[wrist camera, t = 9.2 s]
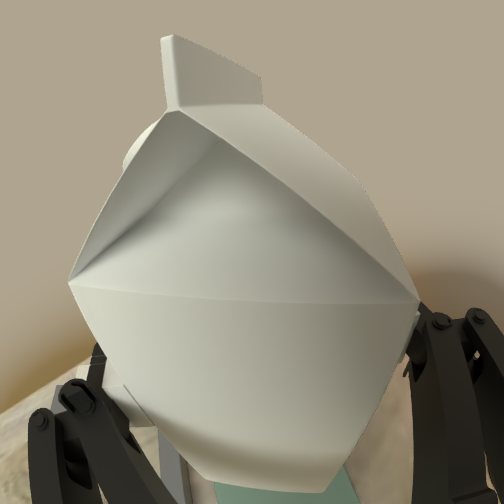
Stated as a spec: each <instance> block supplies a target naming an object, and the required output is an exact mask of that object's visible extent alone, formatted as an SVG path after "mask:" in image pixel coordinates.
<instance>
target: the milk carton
mask: <svg viewBox="0 0 504 504" xmlns="http://www.w3.org/2000/svg"><path fill="white" fill-rule="evenodd" d="M160 46H161V57H162V68H163V76H164V86H165V94H166V100H167V106H168V107H167V110H166V111H165V113H164V114H163V115H162V117H161V118H160V119H159V120H157V121H156V122H155V123H153V124H152V125H151V126H150V127H148V128H147V129H146V130H145V131H144V132H143V133H142V134H141V135H140V136H139V138H138V139H137V140H136V141H135V143H134V144H133V145H132V147H131V148H130V150H129V151H128V153H127V155H126V157H125V159H124V161H123V167H122V168H123V170H124V172H123V174H122V175H121V177H120V178H119V180H118V182H117V183H116V185H115V187H114V188H113V190H112V192H111V193H110V196H109V197H108V199H107V200H106V202H105V204H104V206H103V208H102V209H101V211H100V213H99V215H98V217H97V219H96V221H95V223H94V225H93V226H92V229H91V230H90V232H89V234H88V236H87V238H86V241H85V243H84V245H83V247H82V249H81V251H80V253H79V255H78V257H77V260H76V262H75V264H74V266H73V269H72V271H71V274H70V276H69V279H68V284H69V286H70V289H71V291H72V293H73V295H74V298H75V300H76V302H77V304H78V306H79V309H80V311H81V313H82V314H83V316H84V318H85V320H86V322H87V324H88V326H89V327H90V329H91V331H92V333H93V335H94V337H95V338H96V340H97V342H98V344H99V345H100V347H101V349H102V350H103V352H104V354H105V355H106V357H107V359H108V360H109V362H110V363H111V365H112V367H113V368H114V370H115V371H116V373H117V374H118V376H119V377H120V379H121V380H122V382H123V383H124V385H125V386H126V387H127V389H128V390H129V392H130V393H131V395H132V396H133V397H134V399H135V400H136V401H137V403H138V404H139V405H140V407H141V408H142V409H143V411H144V412H145V413H146V415H147V416H148V417H149V418H150V420H151V421H152V422H153V423H154V425H155V426H156V427H157V428H158V429H159V431H160V432H161V433H162V434H163V435H164V437H165V438H166V439H167V440H168V441H169V442H170V443H171V445H172V446H173V447H174V448H175V449H176V450H177V451H178V452H179V453H180V454H181V456H182V457H183V458H184V459H185V460H186V461H187V462H188V463H189V464H190V465H191V466H192V467H193V468H194V469H195V470H196V471H197V472H198V473H199V474H200V475H201V476H202V477H203V478H204V479H206V480H210V481H215V482H219V483H224V484H230V485H235V486H241V487H248V488H255V489H263V490H272V491H283V492H300V493H323V492H324V491H325V490H326V488H327V487H328V486H329V484H330V483H331V482H332V480H333V479H334V477H335V476H336V474H337V473H338V472H339V470H340V469H341V467H342V466H343V464H344V463H345V461H346V460H347V458H348V457H349V455H350V453H351V452H352V450H353V449H354V447H355V445H356V444H357V442H358V440H359V439H360V437H361V435H362V434H363V432H364V430H365V428H366V427H367V425H368V423H369V421H370V419H371V418H372V416H373V414H374V412H375V410H376V408H377V406H378V404H379V402H380V400H381V398H382V396H383V394H384V392H385V390H386V388H387V386H388V384H389V382H390V379H391V377H392V375H393V373H394V370H395V368H396V366H397V363H398V361H399V359H400V356H401V354H402V351H403V349H404V346H405V344H406V341H407V338H408V336H409V333H410V330H411V327H412V325H413V322H414V319H415V316H416V313H417V310H418V307H419V304H420V302H421V301H420V298H419V295H418V293H417V290H416V288H415V285H414V283H413V281H412V279H411V276H410V274H409V272H408V270H407V268H406V266H405V264H404V261H403V259H402V257H401V255H400V253H399V251H398V249H397V248H396V245H395V243H394V241H393V239H392V238H391V236H390V234H389V232H388V230H387V228H386V226H385V225H384V223H383V221H382V219H381V217H380V216H379V214H378V212H377V211H376V208H375V207H374V205H373V203H372V201H371V200H370V198H369V197H368V195H367V193H366V191H365V190H364V188H363V187H362V185H361V184H360V182H359V181H358V180H357V179H356V178H355V177H354V176H353V175H352V174H351V173H350V172H348V171H347V170H346V169H345V168H344V167H343V166H342V165H340V164H339V163H338V162H337V161H336V160H334V159H333V158H332V157H331V156H330V155H329V154H327V153H326V152H325V151H324V150H322V149H321V148H320V147H319V146H318V145H316V144H315V143H314V142H313V141H311V140H310V139H309V138H308V137H306V136H305V135H304V134H303V133H301V132H300V131H299V130H297V129H296V128H295V127H293V126H292V125H291V124H289V123H288V122H287V121H285V120H284V119H282V118H281V117H280V116H278V115H277V114H276V113H274V112H273V111H271V110H270V109H269V108H267V107H266V106H264V105H263V95H262V85H261V77H260V76H258V75H256V74H255V73H253V72H251V71H249V70H247V69H246V68H244V67H242V66H240V65H238V64H236V63H235V62H233V61H231V60H229V59H227V58H225V57H223V56H221V55H219V54H217V53H215V52H213V51H211V50H209V49H207V48H205V47H203V46H200V45H198V44H196V43H194V42H192V41H189V40H187V39H184V38H182V37H180V36H177V35H175V34H173V35H170V36H167V37H164V38H161V39H160Z"/></svg>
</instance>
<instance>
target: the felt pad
mask: <svg viewBox="0 0 504 504" xmlns="http://www.w3.org/2000/svg"><path fill="white" fill-rule="evenodd" d="M214 487H215V492H216V497H217V501H218V504H360V502H359V500H358V497H357V495H356V493H355V491H354V489H353V486H352V484H351V482H350V480H349V477H348V475H347V473H346V471H345V468H344V466H342V467H341V469H340V470H339V472H338V473H337V474H336V476H335V477H334V479H333V480H332V482H331V483H330V484H329V486H328V487H327V488H326V490H325V491H324V492H323V493H300V492H283V491H272V490H263V489H255V488H248V487H241V486H235V485H230V484H224V483H219V482H215V481H214Z"/></svg>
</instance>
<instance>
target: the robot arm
mask: <svg viewBox="0 0 504 504" xmlns="http://www.w3.org/2000/svg"><path fill="white" fill-rule="evenodd" d="M477 350H478V352H479V354H480V356H479V358H478V359H477V358H476V357H475V355H474V354H475V353H476V351H477ZM405 353H406V354H407V355H408V356H409V358H410V359H409V361H408V364H407V366H406V368H405V370H404V372H403V377H405V376H406V374H407V372H409V376H408V377H409V380H410V390H411V401H412V416H413V440H414V467H413V490H412V503H411V504H498V497H499V500H500V502H501V504H504V336H503V334H502V333H501V331H500V330H499V328H498V327H497V325H496V324H495V323H494V321H493V320H492V319H491V317H490V316H489V315H488V314H487V313H486V312H485V311H484V310H482V309H479V308H471V309H469V310H468V311H467V313H466V316H465V318H461V319H454V320H452V319H451V318H450V317H449V316H447V315H445V314H443V313H438V312H435V313H432V312H431V311H430V310H429V309H428V308H427V307H426V306H425V305H424V304H423V303H422V302H420V304H419V307H418V310H417V313H416V316H415V319H414V322H413V325H412V327H411V330H410V333H409V336H408V338H407V341H406V344H405V346H404V349H403V351H402V354H401V356H400V359H399V361H398V363H397V364H399V363H401V362H402V360H403V358H404V355H405ZM58 401H59V402H60V403H61V404H62V406H63V407H64V408H65V409H66V410H67V411H64V412H61V413H58V414H54V413H53V412H52V411H51V410H49V409H47V408H40V409H37V410H36V411H35V412H34V413H32V415H31V417H30V418H29V423H28V465H29V479H30V489H31V498H32V504H103V502H102V498H101V494H100V490H99V486H100V488H101V490H102V492H103V494H104V496H105V498H106V500H107V502H108V504H178V503H177V502H176V500H175V499H174V498H173V496H172V495H171V493H170V492H169V491H168V489H167V488H166V486H165V485H164V484H163V482H162V481H161V479H160V478H159V476H158V475H157V473H156V472H155V470H154V469H153V467H152V466H151V464H150V462H149V461H148V459H147V458H146V456H145V454H144V453H143V451H142V449H141V448H140V446H139V444H138V442H137V441H136V439H135V437H134V435H133V434H132V433H131V432H130V430H129V421H130V422H131V423H132V424H133V425H134V426H135V427H151V426H154V423H153V422H152V421H151V420H150V418H149V417H148V416H147V415H146V413H145V412H144V411H143V409H142V408H141V407H140V405H139V404H138V403H137V401H136V400H135V399H134V397H133V396H132V395H131V393H130V392H129V390H128V389H127V387H126V386H125V385H124V383H123V382H122V380H121V379H120V377H119V376H118V374H117V373H116V371H115V370H114V368H113V367H112V365H111V363H110V362H109V360H108V359H107V357H106V355H105V354H104V352H103V350H102V349H101V347H100V345H99V344H98V342H97V343H96V345H95V346H94V350H93V354H92V358H91V362H90V366H89V370H88V375H87V379H86V381H85V380H84V379H79V378H76V379H72V380H69V381H68V382H67V383H65V384H64V385H63V386H62V388H61V389H60V392H59V394H58ZM484 450H485V453H486V456H487V459H488V466H489V472H490V476H491V480H492V482H493V485H494V487H495V489H496V491H497V494H498V497H497V494H496V492H495V490H492V489H490V488H488V486H487V482H486V466H485V454H484ZM98 484H99V486H98Z"/></svg>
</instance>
